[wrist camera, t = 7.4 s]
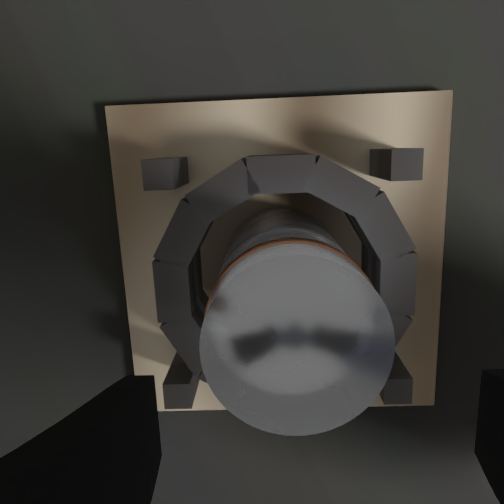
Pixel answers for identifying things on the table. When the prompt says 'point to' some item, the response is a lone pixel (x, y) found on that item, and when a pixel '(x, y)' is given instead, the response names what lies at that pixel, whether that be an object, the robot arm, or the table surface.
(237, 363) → the grey cylinder
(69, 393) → the table surface
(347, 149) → the collar plate
